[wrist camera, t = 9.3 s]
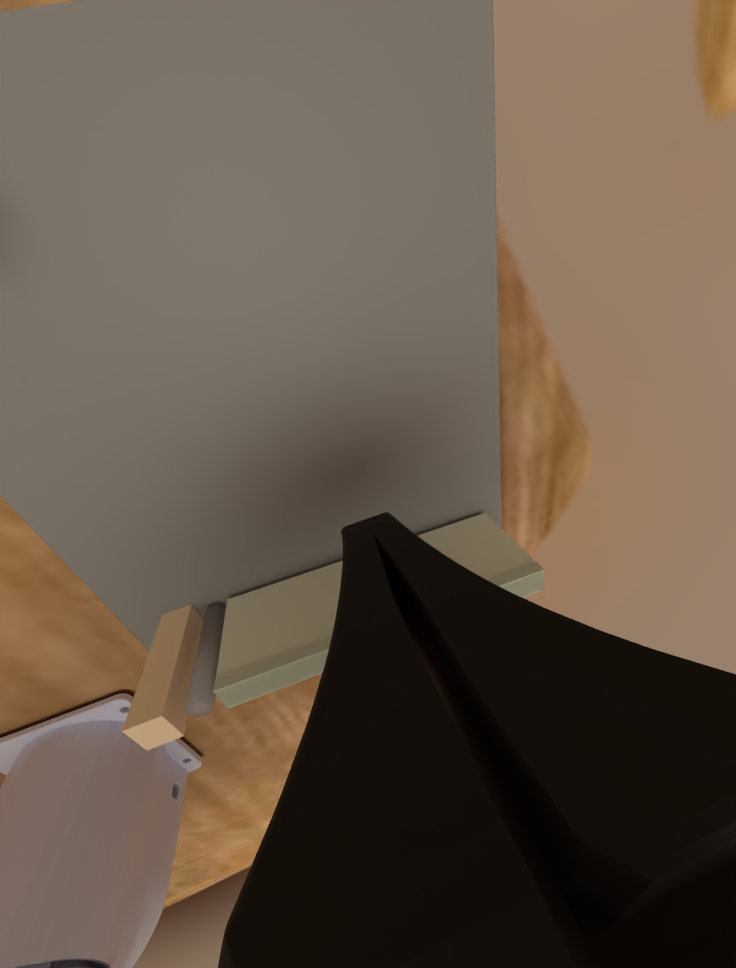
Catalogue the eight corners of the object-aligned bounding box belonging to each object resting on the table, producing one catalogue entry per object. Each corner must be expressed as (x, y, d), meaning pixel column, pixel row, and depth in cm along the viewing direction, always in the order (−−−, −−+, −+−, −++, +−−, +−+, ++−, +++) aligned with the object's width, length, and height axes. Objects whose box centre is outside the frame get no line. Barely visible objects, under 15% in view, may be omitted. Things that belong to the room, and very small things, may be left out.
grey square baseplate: (494, 538, 21) (567, 614, 16) (171, 657, 19) (134, 790, 13) (476, -35, 10) (713, -426, 4) (-344, 93, 7) (-1744, -392, 2)
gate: (211, 624, 17) (193, 721, 13) (199, 607, 16) (177, 704, 12) (485, 530, 19) (542, 590, 15) (484, 512, 18) (544, 569, 14)
